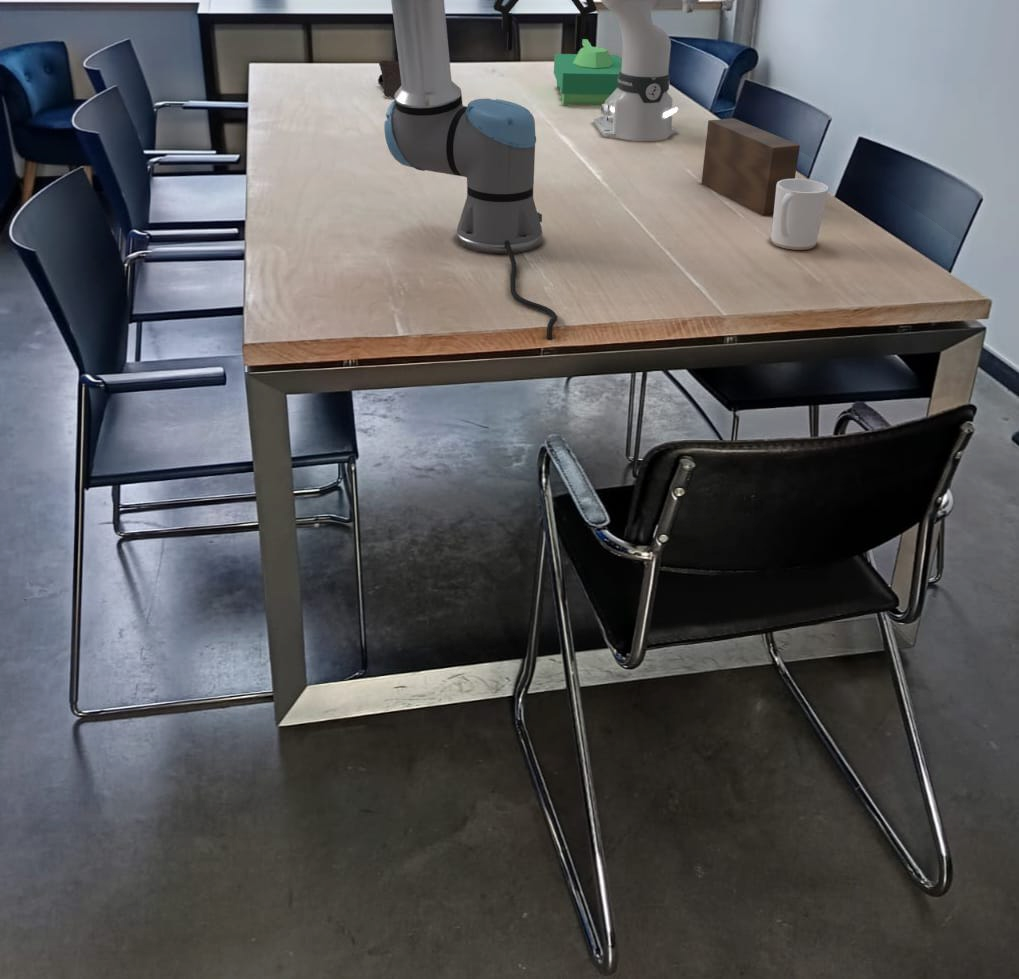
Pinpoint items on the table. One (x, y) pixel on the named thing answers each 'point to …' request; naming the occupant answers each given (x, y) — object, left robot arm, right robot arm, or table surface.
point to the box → (747, 163)
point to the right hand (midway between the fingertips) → (707, 11)
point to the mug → (798, 213)
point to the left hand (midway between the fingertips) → (543, 49)
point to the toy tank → (587, 75)
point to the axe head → (389, 77)
